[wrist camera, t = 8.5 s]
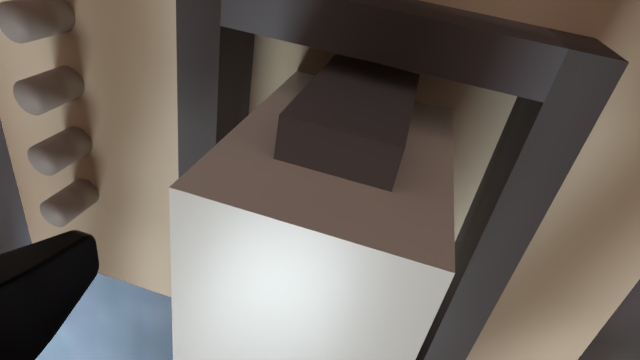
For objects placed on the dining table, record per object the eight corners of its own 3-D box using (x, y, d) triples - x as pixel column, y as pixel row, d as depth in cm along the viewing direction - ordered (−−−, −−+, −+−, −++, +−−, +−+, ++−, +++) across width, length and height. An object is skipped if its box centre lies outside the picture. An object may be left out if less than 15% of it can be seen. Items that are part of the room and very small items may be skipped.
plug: (271, 247, 14) (174, 420, 9) (301, 39, 11) (168, 136, 6) (390, 283, 14) (356, 488, 9) (463, 78, 10) (477, 224, 5)
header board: (61, 230, 19) (-11, 285, 16) (-21, -176, 12) (-181, -212, 9) (526, 379, 16) (543, 478, 13) (806, -22, 9) (984, 0, 6)
